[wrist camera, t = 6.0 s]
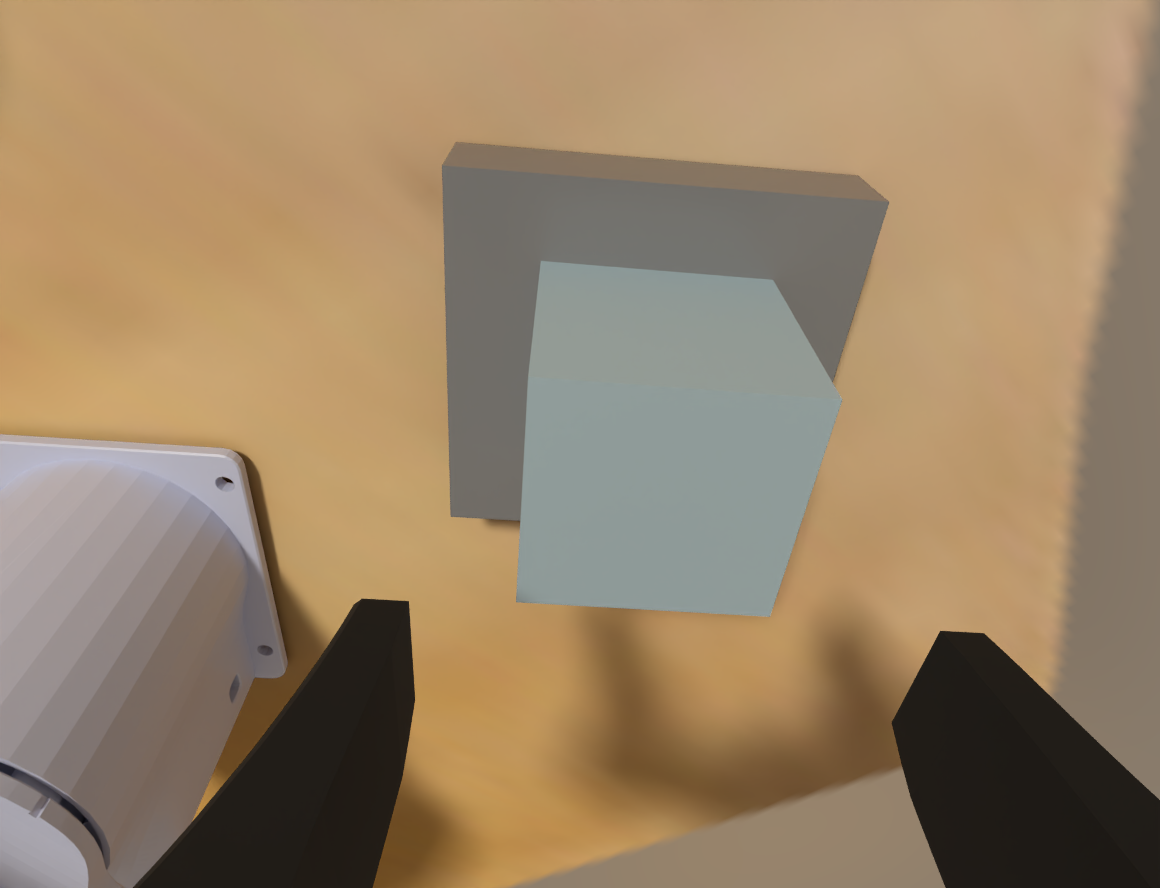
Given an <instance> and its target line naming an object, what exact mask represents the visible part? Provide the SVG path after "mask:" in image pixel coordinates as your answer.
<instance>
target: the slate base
mask: <svg viewBox="0 0 1160 888" xmlns="http://www.w3.org/2000/svg"><path fill="white" fill-rule="evenodd" d="M442 181H443V222H444V264H445V305H446V346H447V387H448V428H449V469H450V510H451V517H465V518H482V519H499V520H516V521H520V520H521V501H522V483H523V464H524V445H525V426H526V407H527V388H528V373H529V364H530V355H531V346H532V337H533V328H534V318H535V309H536V300H537V291H538V282H539V273H540V264H541V261H548V262H560V263H573V264H585V265H597V266H609V267H622V268H634V269H646V270H658V271H671V272H683V273H695V274H707V275H720V276H732V277H744V278H757V279H769V280H773V281H774V282H775V284H776V286H777V288H778V289H779V291H780V293H781V294H782V296H783V298H784V300H785V301H786V303H787V305H788V307H789V308H790V310H791V312H792V313H793V315H794V317H795V319H796V320H797V322H798V324H799V326H800V327H801V329H802V331H803V332H804V334H805V336H806V338H807V339H808V341H809V343H810V345H811V346H812V348H813V350H814V352H815V353H816V355H817V357H818V358H819V360H820V362H821V364H822V365H823V367H824V369H825V371H826V372H827V374H828V376H829V377H830V379H831V381H832V383H833V379H834V376H835V373H836V370H837V367H838V364H839V360H840V357H841V354H842V351H843V348H844V344H845V341H846V338H847V335H848V332H849V329H850V325H851V322H852V319H853V316H854V313H855V309H856V306H857V303H858V300H859V297H860V294H861V290H862V287H863V284H864V281H865V278H866V274H867V271H868V268H869V265H870V262H871V258H872V255H873V252H874V249H875V246H876V243H877V239H878V236H879V233H880V230H881V227H882V223H883V220H884V217H885V214H886V211H887V208H888V204H889V201H888V200H886V199H885V198H884V197H883V196H882V195H881V194H879V193H878V192H877V191H876V190H875V189H873V188H872V187H871V186H870V185H869V184H867V183H866V182H865V181H864V180H863V179H861V178H860V177H859V176H856V175H844V174H832V173H820V172H808V171H796V170H784V169H772V168H760V167H748V166H736V165H724V164H712V163H700V162H688V161H676V160H664V159H652V158H640V157H628V156H616V155H604V154H592V153H580V152H568V151H556V150H544V149H532V148H520V147H508V146H495V145H483V144H471V143H459V142H456V143H455V144H454V146H453V148H452V149H451V151H450V153H449V155H448V156H447V158H446V160H445V161H444V163H443V165H442Z"/></svg>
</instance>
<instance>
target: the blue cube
mask: <svg viewBox="0 0 1160 888" xmlns="http://www.w3.org/2000/svg"><path fill="white" fill-rule="evenodd" d="M841 402H842V398H841V397H840V395H839V393H838V391H837V390H836V388H835V386H834V384H833V383H832V381H831V379H830V377H829V376H828V374H827V372H826V371H825V369H824V367H823V365H822V364H821V362H820V360H819V358H818V357H817V355H816V353H815V352H814V350H813V348H812V346H811V345H810V343H809V341H808V339H807V338H806V336H805V334H804V332H803V331H802V329H801V327H800V326H799V324H798V322H797V320H796V319H795V317H794V315H793V313H792V312H791V310H790V308H789V307H788V305H787V303H786V301H785V300H784V298H783V296H782V294H781V293H780V291H779V289H778V288H777V286H776V284H775V282H774V281H773V280H769V279H757V278H744V277H732V276H720V275H707V274H695V273H683V272H671V271H658V270H646V269H634V268H622V267H609V266H597V265H585V264H573V263H560V262H548V261H541V264H540V273H539V282H538V291H537V300H536V309H535V318H534V328H533V337H532V346H531V355H530V364H529V373H528V388H527V407H526V426H525V445H524V464H523V483H522V501H521V520H520V539H519V558H518V577H517V596H516V602H522V603H540V604H557V605H575V606H592V607H610V608H627V609H645V610H662V611H680V612H697V613H715V614H732V615H750V616H767V617H770V615H771V612H772V609H773V606H774V603H775V600H776V597H777V594H778V591H779V588H780V585H781V582H782V579H783V576H784V573H785V570H786V567H787V564H788V561H789V558H790V555H791V552H792V549H793V546H794V543H795V540H796V537H797V534H798V531H799V528H800V525H801V522H802V519H803V516H804V513H805V510H806V507H807V504H808V501H809V498H810V495H811V492H812V489H813V486H814V483H815V480H816V477H817V474H818V471H819V468H820V465H821V462H822V459H823V456H824V453H825V450H826V447H827V444H828V441H829V438H830V435H831V432H832V429H833V426H834V423H835V420H836V417H837V414H838V411H839V408H840V405H841Z"/></svg>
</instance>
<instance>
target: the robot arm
mask: <svg viewBox="0 0 1160 888" xmlns="http://www.w3.org/2000/svg"><path fill="white" fill-rule="evenodd" d="M222 477H226V478H229V479H230V480H232V481H233V483H229V482H226V481H225V480H224V479H223V478H222ZM287 666H288V660H287V656H286V651H285V647H284V642H283V638H282V633H281V628H280V624H279V619H278V615H277V610H276V605H275V601H274V596H273V592H272V587H271V583H270V578H269V573H268V569H267V564H266V560H265V555H264V550H263V546H262V541H261V537H260V532H259V527H258V523H257V518H256V514H255V509H254V505H253V500H252V495H251V491H250V486H249V482H248V477H247V472H246V468H245V464H244V461H243V459H242V458H241V457H240V456H239V455H238V454H237V453H236V452H234V451H232V450H230V449H225V448H213V447H197V446H181V445H165V444H149V443H133V442H116V441H100V440H84V439H68V438H52V437H36V436H20V435H4V434H0V888H372V887H373V884H374V880H375V876H376V873H377V869H378V865H379V862H380V858H381V854H382V851H383V847H384V843H385V840H386V836H387V832H388V829H389V825H390V821H391V817H392V814H393V810H394V806H395V802H396V799H397V795H398V791H399V787H400V784H401V780H402V776H403V770H404V764H405V758H406V753H407V747H408V741H409V735H410V728H411V722H412V716H413V710H414V703H415V690H414V675H413V659H412V644H411V628H410V613H409V601H394V600H376V599H361V600H360V601H358V602H357V603H355V604H354V605H353V607H352V609H351V610H350V612H349V614H348V615H347V617H346V619H345V620H344V622H343V623H342V625H341V627H340V628H339V630H338V631H337V633H336V634H335V636H334V637H333V639H332V641H331V642H330V644H329V645H328V647H327V648H326V650H325V651H324V653H323V654H322V655H321V657H320V658H319V660H318V661H317V663H316V664H315V666H314V667H313V668H312V670H311V671H310V673H309V674H308V676H307V677H306V678H305V680H304V681H303V683H302V684H301V685H300V687H299V688H298V690H297V691H296V692H295V694H294V695H293V696H292V698H291V699H290V700H289V702H288V703H287V704H286V706H285V707H284V708H283V710H282V711H281V712H280V714H279V715H278V716H277V718H276V719H275V720H274V722H273V723H272V724H271V726H270V727H269V728H268V730H267V731H266V732H265V734H264V735H263V736H262V738H261V739H260V740H259V742H258V743H257V744H256V745H255V747H254V748H253V749H252V750H251V752H250V753H249V754H248V756H247V757H246V758H245V759H244V760H243V762H242V763H241V764H240V765H239V766H238V768H237V769H236V770H235V771H234V772H233V774H232V775H231V776H230V777H229V778H228V780H227V781H226V782H225V783H224V785H223V786H222V787H221V788H220V789H219V791H218V792H217V793H216V794H215V795H214V797H213V798H212V799H211V800H210V801H209V803H208V804H207V805H206V806H205V807H204V809H203V810H202V811H201V812H200V813H199V815H198V816H197V817H196V818H195V819H194V820H193V818H194V816H195V813H196V811H197V809H198V806H199V804H200V802H201V800H202V797H203V795H204V793H205V790H206V788H207V786H208V783H209V781H210V779H211V777H212V774H213V772H214V770H215V767H216V765H217V763H218V760H219V758H220V756H221V754H222V751H223V749H224V747H225V744H226V742H227V740H228V737H229V735H230V733H231V731H232V728H233V726H234V724H235V721H236V719H237V717H238V714H239V712H240V710H241V708H242V705H243V703H244V701H245V698H246V696H247V694H248V691H249V689H250V687H251V685H252V682H253V680H254V678H278V677H281V676H283V674H284V673H285V671H286V669H287ZM892 726H893V730H894V734H895V738H896V743H897V747H898V751H899V755H900V759H901V763H902V767H903V771H904V774H905V778H906V782H907V785H908V789H909V793H910V796H911V799H912V802H913V805H914V807H915V810H916V813H917V815H918V818H919V821H920V823H921V826H922V828H923V831H924V833H925V836H926V839H927V841H928V844H929V847H930V849H931V852H932V854H933V857H934V859H935V862H936V864H937V867H938V869H939V872H940V875H941V877H942V880H943V882H944V885H945V887H946V888H1160V800H1159V799H1158V798H1157V797H1156V796H1155V795H1154V794H1153V793H1151V792H1150V791H1149V790H1148V789H1147V788H1146V787H1145V786H1144V785H1143V784H1142V783H1140V782H1139V780H1137V779H1136V778H1135V777H1134V776H1133V775H1132V774H1131V773H1130V772H1129V771H1128V770H1126V768H1125V767H1124V766H1123V765H1121V764H1120V763H1119V762H1118V761H1117V760H1116V759H1115V758H1114V757H1113V756H1112V755H1111V754H1110V753H1109V752H1108V751H1106V749H1105V748H1103V747H1102V746H1101V745H1100V744H1099V743H1098V742H1097V741H1096V740H1095V739H1094V738H1093V737H1092V736H1091V735H1090V734H1089V733H1088V732H1087V731H1085V729H1084V728H1083V727H1082V726H1081V725H1079V724H1078V723H1077V722H1076V721H1075V720H1074V719H1073V718H1072V717H1071V716H1070V715H1069V714H1068V713H1067V712H1066V711H1065V710H1064V709H1063V708H1062V707H1061V706H1060V705H1059V704H1058V703H1057V702H1056V701H1055V700H1054V699H1053V698H1052V697H1051V696H1050V695H1049V694H1047V693H1046V692H1045V691H1044V690H1043V689H1042V688H1041V687H1040V686H1039V685H1038V684H1037V683H1036V682H1035V681H1034V680H1033V679H1032V678H1031V677H1030V676H1029V675H1028V674H1027V673H1026V672H1025V671H1024V670H1023V669H1022V668H1021V667H1020V666H1018V665H1017V664H1016V663H1015V662H1014V661H1013V660H1012V659H1011V658H1010V657H1009V656H1008V655H1007V654H1006V653H1005V652H1004V651H1003V650H1002V649H1000V648H999V647H998V646H997V645H996V644H995V643H994V642H993V641H992V640H991V639H989V638H988V637H987V636H986V635H985V634H984V633H969V632H951V631H940V633H939V634H938V636H937V638H936V640H935V642H934V644H933V646H932V648H931V650H930V651H929V653H928V655H927V657H926V659H925V661H924V663H923V665H922V667H921V668H920V670H919V672H918V674H917V676H916V678H915V680H914V682H913V684H912V685H911V687H910V689H909V691H908V693H907V695H906V697H905V699H904V701H903V702H902V704H901V706H900V708H899V710H898V712H897V714H896V716H895V718H894V719H893V721H892ZM192 820H193V822H192Z"/></svg>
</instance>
